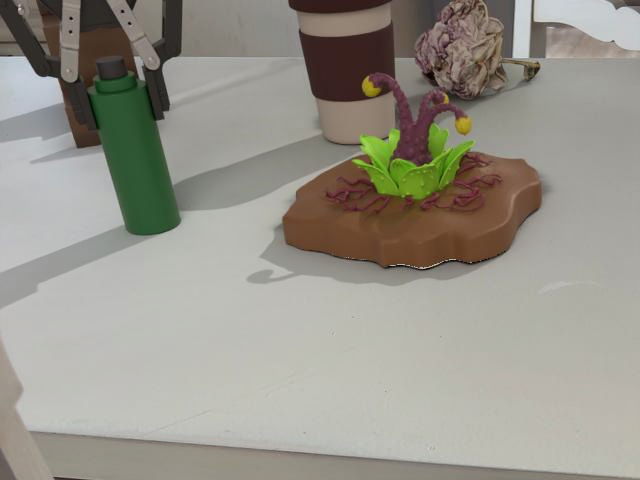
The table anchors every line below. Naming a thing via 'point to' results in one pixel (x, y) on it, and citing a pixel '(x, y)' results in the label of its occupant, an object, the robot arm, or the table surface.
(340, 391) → the table surface
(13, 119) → the table surface
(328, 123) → the coffee cup
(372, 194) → the plant
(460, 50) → the decorative flower
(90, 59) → the rack
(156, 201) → the green bottle
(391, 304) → the table surface
